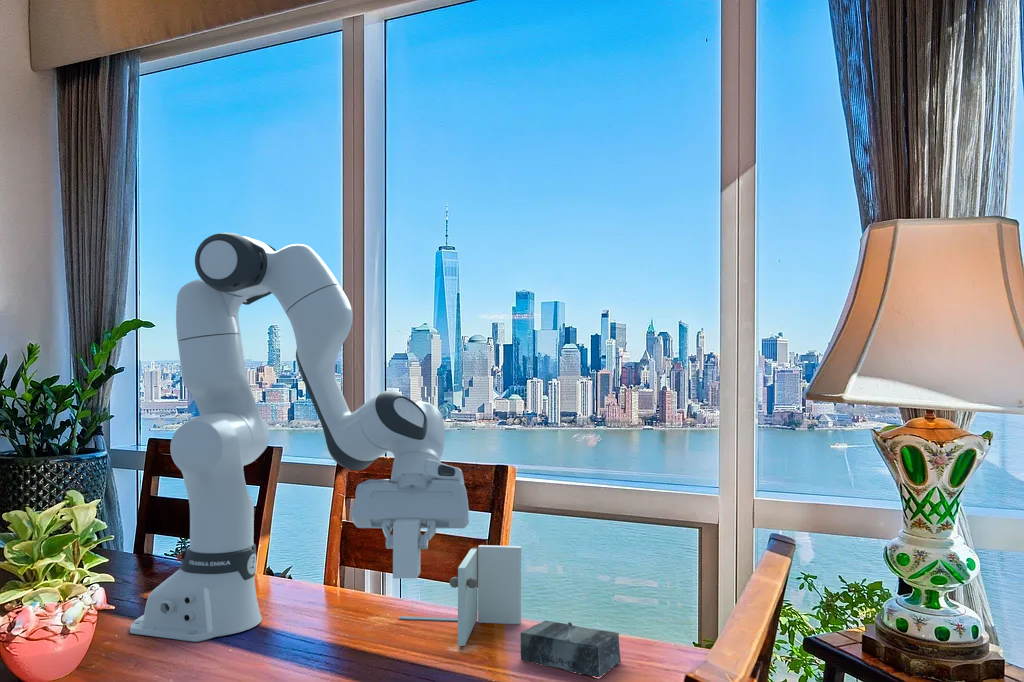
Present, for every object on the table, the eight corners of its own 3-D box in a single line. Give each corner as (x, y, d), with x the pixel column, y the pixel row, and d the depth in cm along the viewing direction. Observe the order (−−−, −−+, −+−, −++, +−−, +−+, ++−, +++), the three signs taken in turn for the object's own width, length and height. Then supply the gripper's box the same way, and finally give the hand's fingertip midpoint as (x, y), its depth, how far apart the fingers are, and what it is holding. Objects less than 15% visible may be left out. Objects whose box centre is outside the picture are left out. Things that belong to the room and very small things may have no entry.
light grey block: (392, 578, 128) (393, 523, 128) (397, 572, 132) (397, 518, 132) (417, 578, 127) (417, 523, 128) (420, 572, 131) (420, 518, 132)
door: (475, 646, 130) (475, 568, 130) (447, 645, 130) (447, 567, 131) (487, 617, 144) (487, 548, 145) (461, 617, 145) (462, 547, 145)
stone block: (548, 645, 133) (548, 614, 133) (624, 663, 125) (624, 630, 125) (519, 661, 125) (519, 628, 126) (599, 681, 117) (599, 646, 118)
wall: (398, 619, 145) (399, 544, 145) (400, 617, 146) (400, 542, 147) (520, 624, 143) (520, 547, 143) (521, 621, 144) (521, 546, 144)
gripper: (355, 468, 137) (341, 536, 127) (470, 469, 137) (465, 536, 127) (360, 490, 142) (347, 557, 131) (472, 490, 141) (467, 557, 131)
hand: (406, 547), depth 129 cm, fingers closed on light grey block, 4 cm apart
